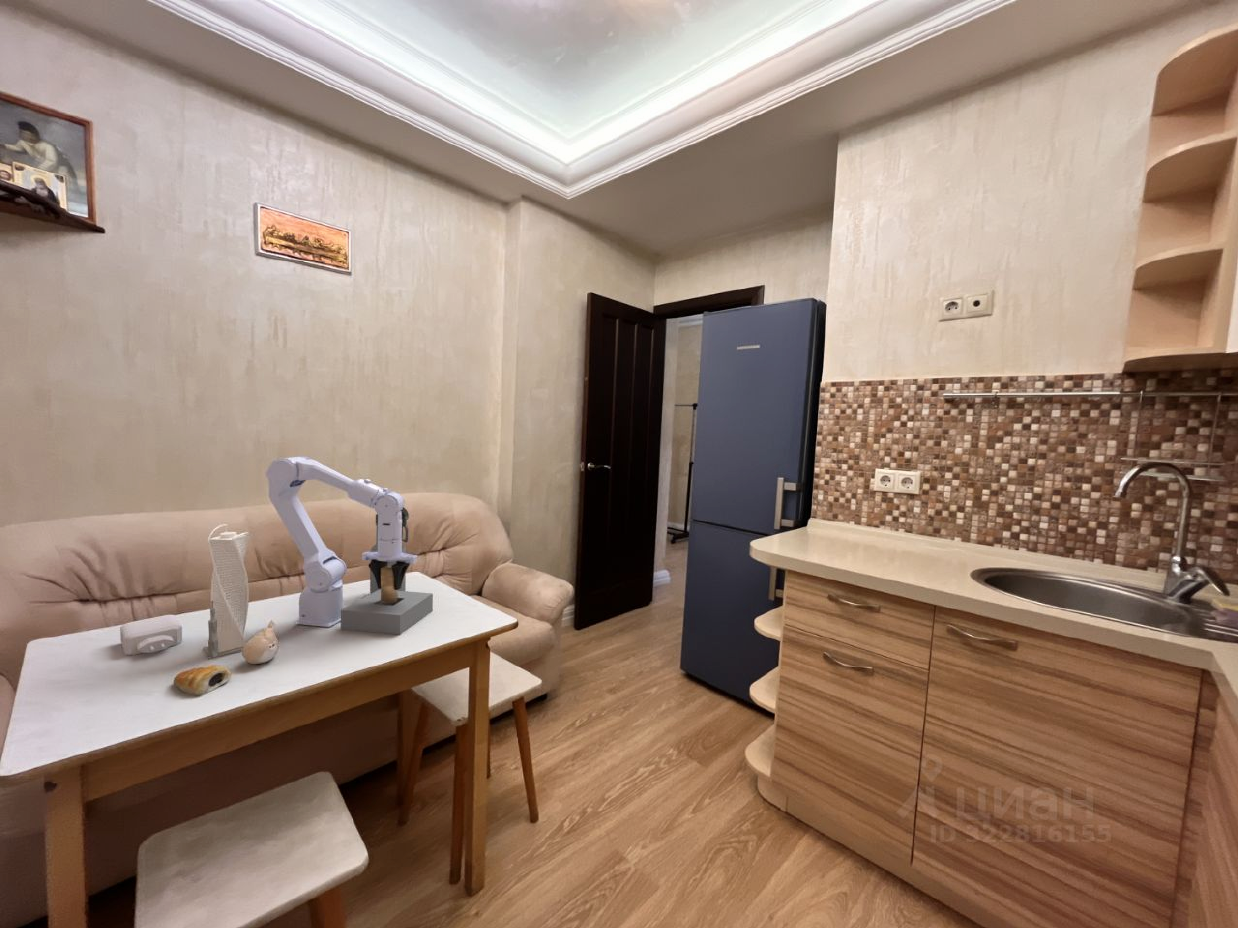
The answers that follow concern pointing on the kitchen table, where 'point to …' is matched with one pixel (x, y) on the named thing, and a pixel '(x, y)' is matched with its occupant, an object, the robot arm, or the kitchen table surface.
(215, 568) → the skyscraper
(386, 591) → the peg
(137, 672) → the kitchen table surface
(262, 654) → the beige rounded figure
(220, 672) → the pastry
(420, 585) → the kitchen table surface
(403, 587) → the water bottle
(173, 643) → the charger
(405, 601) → the socket block
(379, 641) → the kitchen table surface
